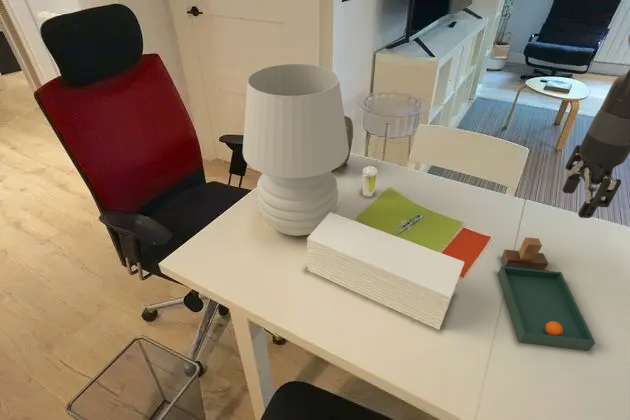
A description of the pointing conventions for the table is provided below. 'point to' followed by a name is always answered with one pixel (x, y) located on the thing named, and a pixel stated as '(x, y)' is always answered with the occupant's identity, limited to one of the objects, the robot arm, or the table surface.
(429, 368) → the table surface
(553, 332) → the ball
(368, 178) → the milkshake
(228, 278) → the table surface
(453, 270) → the stack of papers
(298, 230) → the table lamp
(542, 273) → the tray
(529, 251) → the brush
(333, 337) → the table surface
